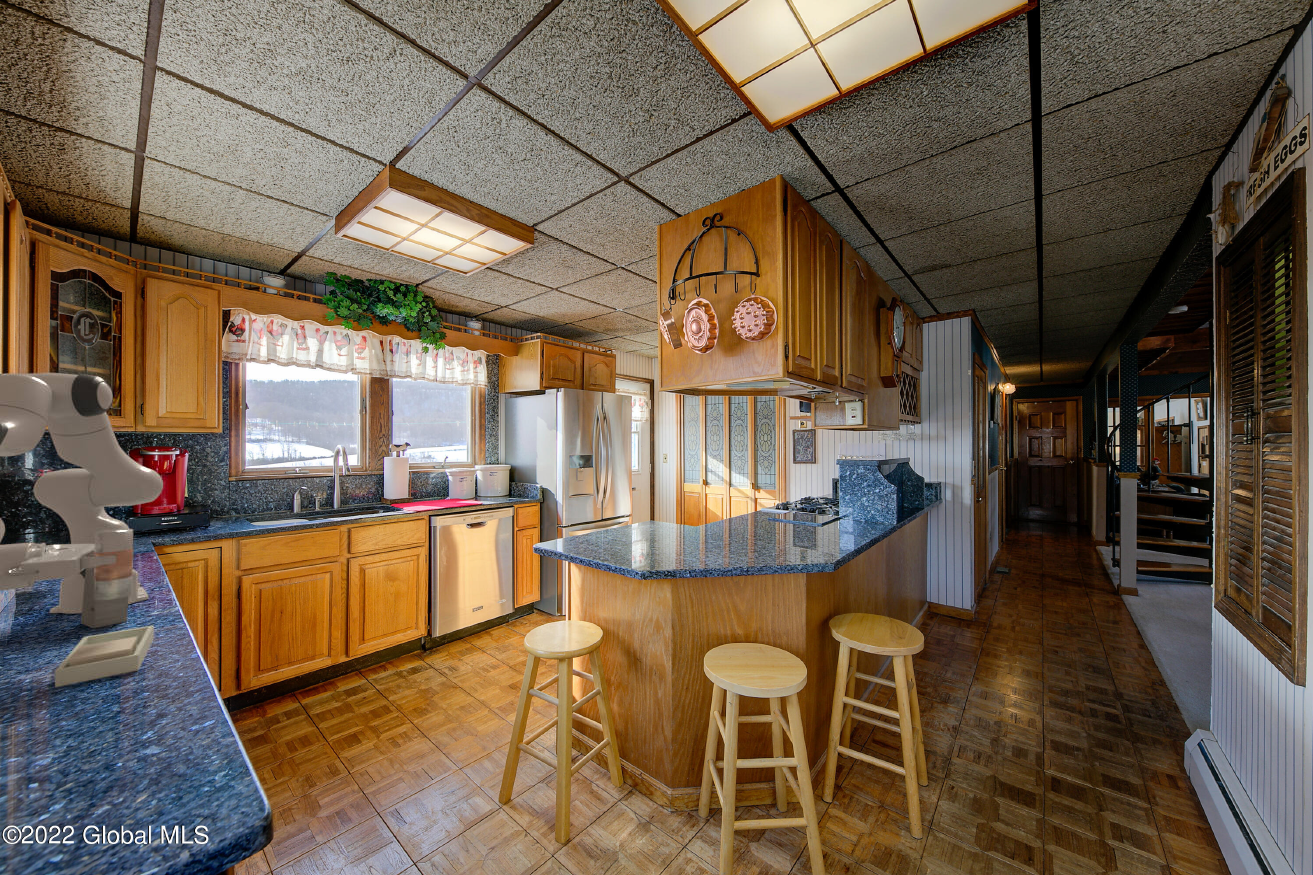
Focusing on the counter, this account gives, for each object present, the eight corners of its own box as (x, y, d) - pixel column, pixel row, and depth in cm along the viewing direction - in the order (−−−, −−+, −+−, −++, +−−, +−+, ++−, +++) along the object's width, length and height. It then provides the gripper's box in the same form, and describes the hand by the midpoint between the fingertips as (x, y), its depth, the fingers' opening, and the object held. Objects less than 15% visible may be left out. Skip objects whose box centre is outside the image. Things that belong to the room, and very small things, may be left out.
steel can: (97, 595, 108) (98, 530, 108) (134, 591, 112) (135, 528, 112) (90, 602, 104) (91, 534, 104) (129, 597, 107) (130, 531, 107)
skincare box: (80, 624, 128) (80, 561, 128) (119, 615, 134) (119, 556, 134) (92, 629, 124) (92, 565, 124) (132, 620, 130) (132, 559, 130)
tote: (83, 655, 109) (83, 636, 109) (153, 642, 116) (153, 625, 116) (55, 692, 93) (55, 670, 93) (138, 674, 100) (138, 654, 100)
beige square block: (79, 666, 101) (79, 646, 101) (137, 655, 106) (137, 636, 106) (68, 681, 95) (68, 660, 95) (130, 669, 100) (130, 648, 100)
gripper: (-1, 559, 92) (110, 548, 100) (36, 542, 108) (129, 534, 116) (-2, 593, 92) (109, 580, 100) (35, 571, 107) (128, 561, 116)
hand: (120, 555), depth 108 cm, fingers closed on steel can, 6 cm apart
